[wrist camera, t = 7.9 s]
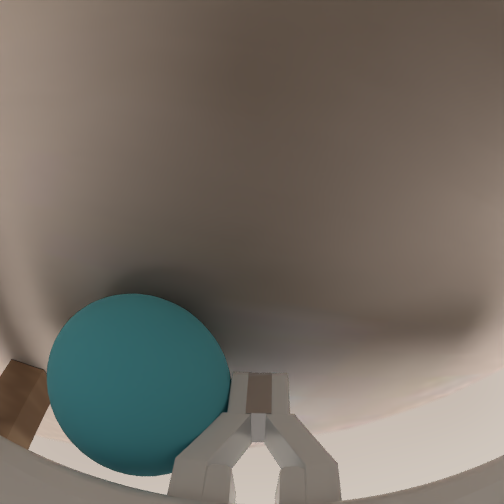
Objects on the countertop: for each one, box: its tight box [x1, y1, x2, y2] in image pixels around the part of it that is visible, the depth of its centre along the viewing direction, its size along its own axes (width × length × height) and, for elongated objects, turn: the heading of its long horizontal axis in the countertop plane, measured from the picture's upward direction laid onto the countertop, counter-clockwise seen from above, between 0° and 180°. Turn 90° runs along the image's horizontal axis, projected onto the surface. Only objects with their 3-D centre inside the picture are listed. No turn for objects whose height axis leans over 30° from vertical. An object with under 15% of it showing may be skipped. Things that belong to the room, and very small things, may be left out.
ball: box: [47, 294, 231, 476], centre depth 9 cm, size 6×6×6 cm
